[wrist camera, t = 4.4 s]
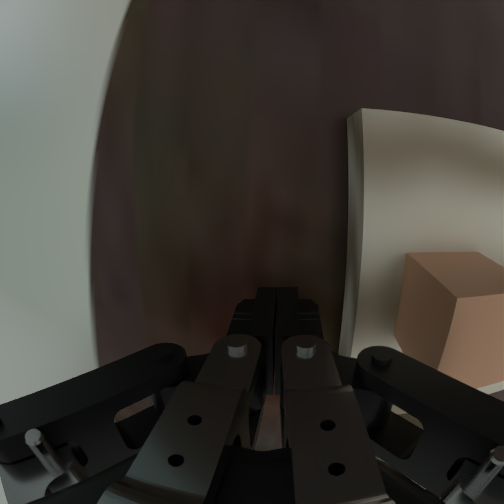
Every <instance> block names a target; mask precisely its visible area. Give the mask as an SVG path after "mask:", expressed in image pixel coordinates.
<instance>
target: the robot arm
mask: <svg viewBox="0 0 504 504" xmlns="http://www.w3.org/2000/svg"><path fill="white" fill-rule="evenodd" d="M274 373H275V394H276V395H280V424H281V444H282V449H276V450H270V451H255V446H256V442H257V437H258V433H259V429H260V424H261V420H262V416H263V405H264V403H265V397H266V394H271V395H273V386H274ZM148 396H151V399H152V402H153V406H151V407H149V408H147V409H145V410H143V411H141V412H138V413H136V414H134V415H132V416H130V417H128V418H126V419H124V420H122V421H120V422H116V423H114V417H115V415H116V413H117V412H118V411H120V410H121V409H123V408H125V407H127V406H130V405H132V404H134V403H136V402H138V401H140V400H142V399H144V398H146V397H148ZM393 405H395V406H397V407H398V408H400V409H402V410H403V411H405V412H407V413H408V414H410V415H412V416H414V417H415V418H417V419H418V420H419V421H420V422H421V423H422V425H423V428H424V430H422V429H421V428H419V427H417V426H416V425H414V424H412V423H411V422H409V421H407V420H406V419H404V418H402V417H401V416H399V415H397V414H396V413H394V412H392V411H391V409H392V406H393ZM375 455H376V456H378V457H379V458H380V459H382V460H383V461H385V462H386V463H385V462H383V461H380V460H378V459H376V457H375ZM387 463H388V464H387ZM390 465H391V466H390ZM403 474H404V475H403ZM406 476H407V477H406ZM0 477H1V481H2V484H3V488H4V491H5V495H6V498H7V502H8V504H504V402H503V401H501V400H499V399H496V398H494V397H492V396H490V395H488V394H486V393H484V392H482V391H479V390H477V389H475V388H473V387H471V386H469V385H467V384H465V383H463V382H461V381H459V380H457V379H454V378H452V377H450V376H448V375H446V374H444V373H442V372H440V371H438V370H436V369H434V368H432V367H430V366H428V365H426V364H424V363H422V362H420V361H418V360H416V359H414V358H412V357H410V356H408V355H406V354H404V353H402V352H400V351H398V350H396V349H393V348H390V347H386V346H371V347H368V348H365V349H363V350H362V351H361V352H360V353H359V354H358V356H357V358H351V357H345V356H341V355H338V354H336V353H334V352H332V351H331V349H330V346H329V344H328V343H327V342H326V341H325V340H324V337H323V332H322V326H321V321H320V316H319V311H318V305H317V304H316V303H315V302H313V301H312V300H311V299H298V292H297V287H278V300H277V287H258V289H257V294H256V298H255V299H244V300H243V301H241V302H240V303H239V304H238V305H237V306H236V309H235V312H234V315H233V318H232V321H231V324H230V327H229V330H228V333H227V336H225V337H223V338H221V339H219V340H218V341H216V342H215V344H214V346H213V347H212V349H211V351H210V353H208V354H204V355H197V356H189V357H187V356H186V352H185V350H184V348H183V347H181V346H180V345H177V344H173V343H160V344H155V345H152V346H150V347H147V348H145V349H143V350H140V351H138V352H136V353H133V354H131V355H129V356H126V357H124V358H121V359H119V360H117V361H114V362H112V363H109V364H107V365H104V366H102V367H100V368H97V369H95V370H92V371H90V372H87V373H85V374H82V375H79V376H77V377H75V378H72V379H70V380H67V381H64V382H62V383H59V384H56V385H54V386H51V387H48V388H46V389H43V390H40V391H38V392H35V393H32V394H29V395H27V396H24V397H21V398H19V399H15V400H13V401H10V402H7V403H4V404H1V405H0ZM408 477H409V478H410V479H412V480H413V481H415V482H416V483H418V484H419V485H421V486H423V487H424V488H426V489H427V490H429V491H431V492H432V493H434V494H436V495H437V496H439V497H441V498H440V499H438V498H437V497H435V496H434V495H432V494H431V493H429V492H428V491H426V490H425V489H423V488H422V487H420V486H419V485H418V484H416V483H415V482H413V481H412V480H410V479H409V478H408Z"/></svg>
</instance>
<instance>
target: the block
mask: <svg viewBox="0 0 504 504" xmlns="http://www.w3.org/2000/svg"><path fill="white" fill-rule="evenodd" d="M394 337H395V339H396V340H397V342H398V344H399V346H400V348H401V350H402V352H403V353H404V354H406V355H408V356H410V357H412V358H414V359H416V360H418V361H420V362H422V363H424V364H426V365H428V366H430V367H432V368H434V369H436V370H438V371H440V372H442V373H444V374H446V375H448V376H450V377H452V378H454V379H457V380H459V381H461V382H463V383H465V384H467V385H469V386H471V387H473V388H475V389H477V388H481V387H484V386H488V385H491V384H495V383H498V382H501V381H504V267H503V266H501V265H499V264H498V263H496V262H494V261H493V260H491V259H490V258H488V257H486V256H484V255H483V254H481V253H479V252H422V253H406V259H405V268H404V276H403V284H402V291H401V298H400V304H399V310H398V316H397V321H396V327H395V332H394Z"/></svg>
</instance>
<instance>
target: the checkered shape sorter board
mask: <svg viewBox="0 0 504 504" xmlns="http://www.w3.org/2000/svg"><path fill="white" fill-rule="evenodd" d="M347 138H348V182H349V197H348V241H347V262H346V279H345V293H344V305H343V316H342V326H341V335H340V344H339V352H338V355H341V356H345V357H351V358H357V356H358V354H359V353H360V352H361V351H362V350H363V349H365V348H368V347H371V346H386V347H390V348H393V349H396V350H398V351H400V352H402V350H401V348H400V346H399V344H398V342H397V340H396V339H395V337H394V332H395V327H396V321H397V316H398V310H399V304H400V298H401V291H402V284H403V276H404V268H405V259H406V253H422V252H479V253H481V254H483V255H484V256H486V257H488V258H490V259H491V260H493V261H494V262H496V263H498V264H499V265H501V266H503V267H504V131H502V130H498V129H494V128H490V127H486V126H481V125H477V124H472V123H468V122H463V121H458V120H453V119H447V118H441V117H435V116H429V115H422V114H415V113H407V112H399V111H389V110H378V109H366V108H361V109H360V110H358V111H357V112H355V113H354V114H352V115H351V116H349V117H348V118H347ZM402 353H403V352H402ZM477 390H479V391H482V392H484V393H486V394H491V393H494V392H497V391H500V390H504V381H501V382H498V383H495V384H491V385H488V386H484V387H481V388H477ZM391 411H392V412H394V413H396V414H404V413H407V412H405V411H403V410H402V409H400V408H398V407H397V406H395V405H393V406H392V409H391Z"/></svg>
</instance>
